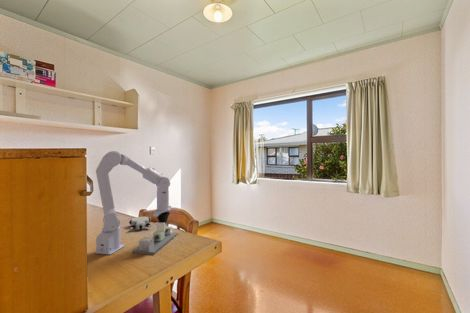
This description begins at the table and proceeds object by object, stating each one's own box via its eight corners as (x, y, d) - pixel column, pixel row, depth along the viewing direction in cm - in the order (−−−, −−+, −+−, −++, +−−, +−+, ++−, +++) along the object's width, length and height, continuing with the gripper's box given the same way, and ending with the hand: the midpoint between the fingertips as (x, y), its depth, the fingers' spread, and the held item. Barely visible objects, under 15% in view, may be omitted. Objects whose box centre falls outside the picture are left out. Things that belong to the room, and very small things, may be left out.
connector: (149, 251, 96) (149, 241, 96) (138, 250, 97) (138, 240, 97) (155, 246, 101) (155, 236, 101) (145, 245, 102) (145, 236, 102)
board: (154, 254, 95) (154, 243, 95) (132, 252, 97) (132, 242, 97) (177, 234, 118) (177, 225, 118) (160, 233, 120) (160, 224, 120)
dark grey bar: (147, 246, 98) (147, 243, 98) (144, 246, 98) (144, 243, 98) (168, 230, 117) (168, 228, 117) (166, 230, 117) (166, 228, 117)
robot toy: (152, 231, 127) (150, 221, 140) (152, 223, 127) (150, 214, 140) (128, 234, 122) (129, 224, 135) (128, 226, 121) (129, 217, 135)
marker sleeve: (160, 241, 106) (160, 225, 106) (153, 240, 107) (152, 225, 107) (165, 237, 111) (165, 222, 111) (157, 236, 112) (157, 222, 112)
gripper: (163, 203, 105) (163, 232, 105) (176, 197, 119) (176, 223, 119) (149, 203, 106) (149, 231, 106) (164, 197, 120) (164, 222, 120)
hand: (162, 227), depth 113 cm, fingers closed
